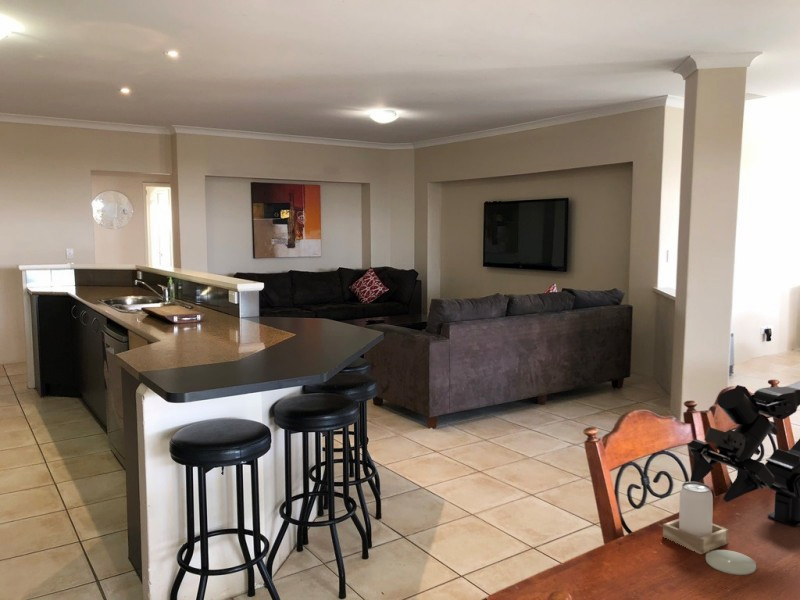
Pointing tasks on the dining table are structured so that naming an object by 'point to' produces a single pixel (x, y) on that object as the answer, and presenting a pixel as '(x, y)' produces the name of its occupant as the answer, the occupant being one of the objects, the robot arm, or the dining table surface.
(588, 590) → the dining table surface
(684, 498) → the can
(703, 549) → the holder
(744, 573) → the pale green flat disc
